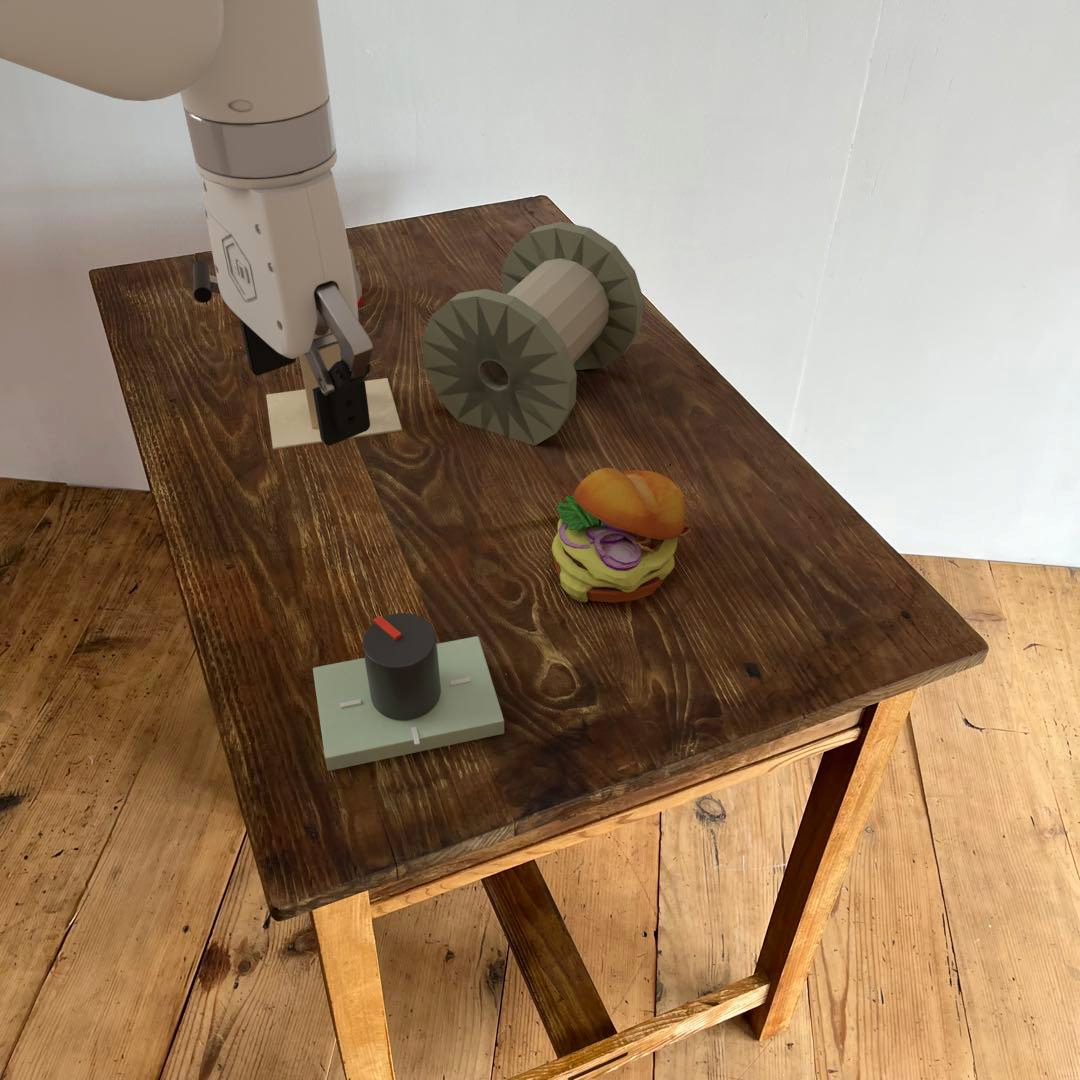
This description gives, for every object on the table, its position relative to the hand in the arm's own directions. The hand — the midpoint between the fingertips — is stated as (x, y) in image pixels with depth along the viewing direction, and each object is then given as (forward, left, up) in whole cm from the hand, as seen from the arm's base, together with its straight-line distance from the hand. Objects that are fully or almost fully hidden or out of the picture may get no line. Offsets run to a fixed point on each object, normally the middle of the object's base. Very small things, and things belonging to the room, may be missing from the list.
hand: (308, 400), depth 66 cm
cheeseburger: (+22, 0, -20) cm, 30 cm away
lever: (-3, +26, -7) cm, 27 cm away
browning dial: (+3, -11, -17) cm, 21 cm away
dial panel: (+3, -11, -20) cm, 23 cm away
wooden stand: (+2, +26, -20) cm, 33 cm away
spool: (+22, +25, -20) cm, 39 cm away
